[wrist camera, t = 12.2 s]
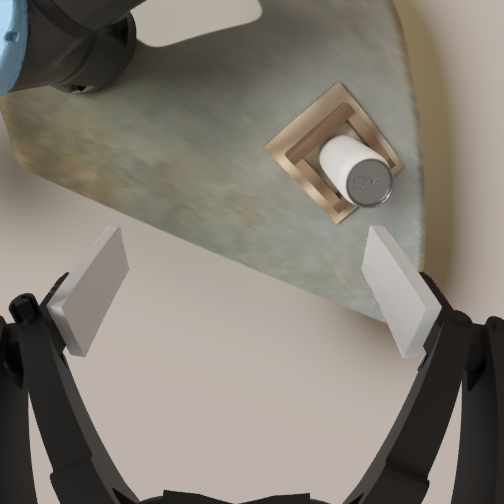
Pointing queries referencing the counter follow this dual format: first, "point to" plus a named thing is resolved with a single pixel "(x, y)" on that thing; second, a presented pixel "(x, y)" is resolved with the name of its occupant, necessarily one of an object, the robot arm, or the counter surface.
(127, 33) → the robot arm
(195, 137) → the counter surface
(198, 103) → the counter surface
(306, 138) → the keeper board
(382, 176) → the can
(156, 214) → the counter surface
